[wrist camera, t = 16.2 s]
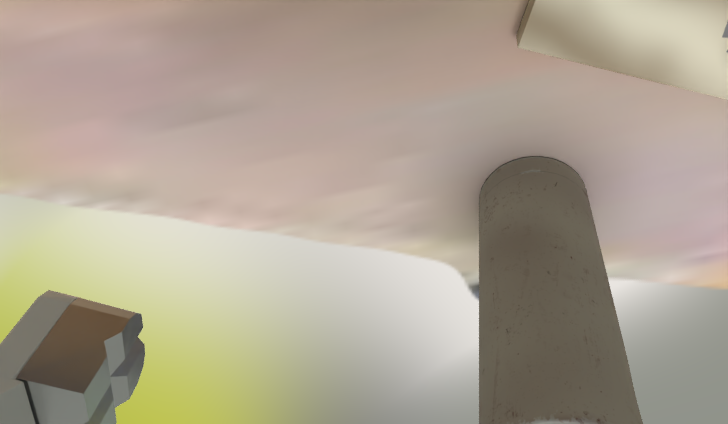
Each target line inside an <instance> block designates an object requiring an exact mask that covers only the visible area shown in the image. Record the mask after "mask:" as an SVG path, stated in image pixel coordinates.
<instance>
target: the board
mask: <svg viewBox="0 0 728 424" xmlns="http://www.w3.org/2000/svg"><path fill="white" fill-rule="evenodd" d="M516 38H517V45H518V48H521V49H525V50H529V51H533V52H537V53H541V54H545V55H549V56H553V57H557V58H561V59H565V60H569V61H573V62H577V63H581V64H585V65H589V66H593V67H597V68H601V69H605V70H609V71H613V72H617V73H621V74H625V75H629V76H633V77H637V78H641V79H645V80H649V81H653V82H657V83H661V84H665V85H669V86H673V87H678V88H682V89H686V90H690V91H694V92H698V93H702V94H706V95H710V96H714V97H718V98H722V99H726V100H728V0H529V2H528V5H527V8H526V11H525V13H524V16H523V19H522V22H521V24H520V27H519V30H518V33H517V35H516Z"/></svg>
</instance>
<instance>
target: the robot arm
mask: <svg viewBox="0 0 728 424" xmlns="http://www.w3.org/2000/svg"><path fill="white" fill-rule="evenodd" d="M142 328H143V324H142V316H141V314H139V313H135V312H131V311H127V310H124V309H120V308H116V307H112V306H109V305H105V304H101V303H97V302H93V301H89V300H86V299H82V298H79V297H74V296H71V295H67V294H62V293H58V292H54V291H50V290H49V291H47V292H45V293H44V294H42V295H41V296H40V297H38V298H37V299H36V300H35V302H34V303H33V304H32V305H31V307H30V308H29V309H28V310H27V312H26V313H25V314H24V315H23V317H22V318H21V319H20V321H19V322H18V323H17V324H16V325H15V326H14V328H13V329H12V330H11V331H10V333H9V334H8V335H7V336H6V338H5V339H4V340H3V341H2V343H1V344H0V424H116V415H115V407H117V406H119V405H120V404H122V403H124V402H125V401H127V400H128V399H130V396H131V395H132V393H133V391H134V389H135V387H136V385H137V383H138V380H139V377H140V374H141V371H142V368H143V364H144V357H145V348H144V344H143V342H142V341H141V340H140V339H139V338H138V335H139V333H140V332H141V330H142Z"/></svg>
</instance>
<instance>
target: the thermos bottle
mask: <svg viewBox="0 0 728 424" xmlns="http://www.w3.org/2000/svg"><path fill="white" fill-rule="evenodd" d="M479 424H643V422H642V419H641V415H640V412H639V408H638V404H637V400H636V397H635V392H634V387H633V383H632V378H631V373H630V368H629V364H628V360H627V355H626V351H625V347H624V343H623V339H622V335H621V331H620V327H619V322H618V318H617V314H616V310H615V306H614V303H613V298H612V294H611V290H610V286H609V282H608V277H607V273H606V269H605V265H604V261H603V257H602V253H601V249H600V245H599V241H598V236H597V232H596V228H595V224H594V220H593V216H592V212H591V208H590V204H589V200H588V196H587V192H586V188H585V185H584V182H583V181H582V179H581V178H580V176H579V175H578V174H577V173H576V172H575V171H574V170H573V169H572V168H571V167H569V166H567V165H566V164H564V163H562V162H560V161H557V160H554V159H550V158H545V157H527V158H520V159H517V160H514V161H511V162H509V163H507V164H505V165H503V166H501V167H500V168H498V169H497V170H496V171H494V172H493V173H492V174H491V175H490V177H489V178H488V179H487V180H486V182H485V183H484V185H483V187H482V190H481V193H480V200H479Z"/></svg>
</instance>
